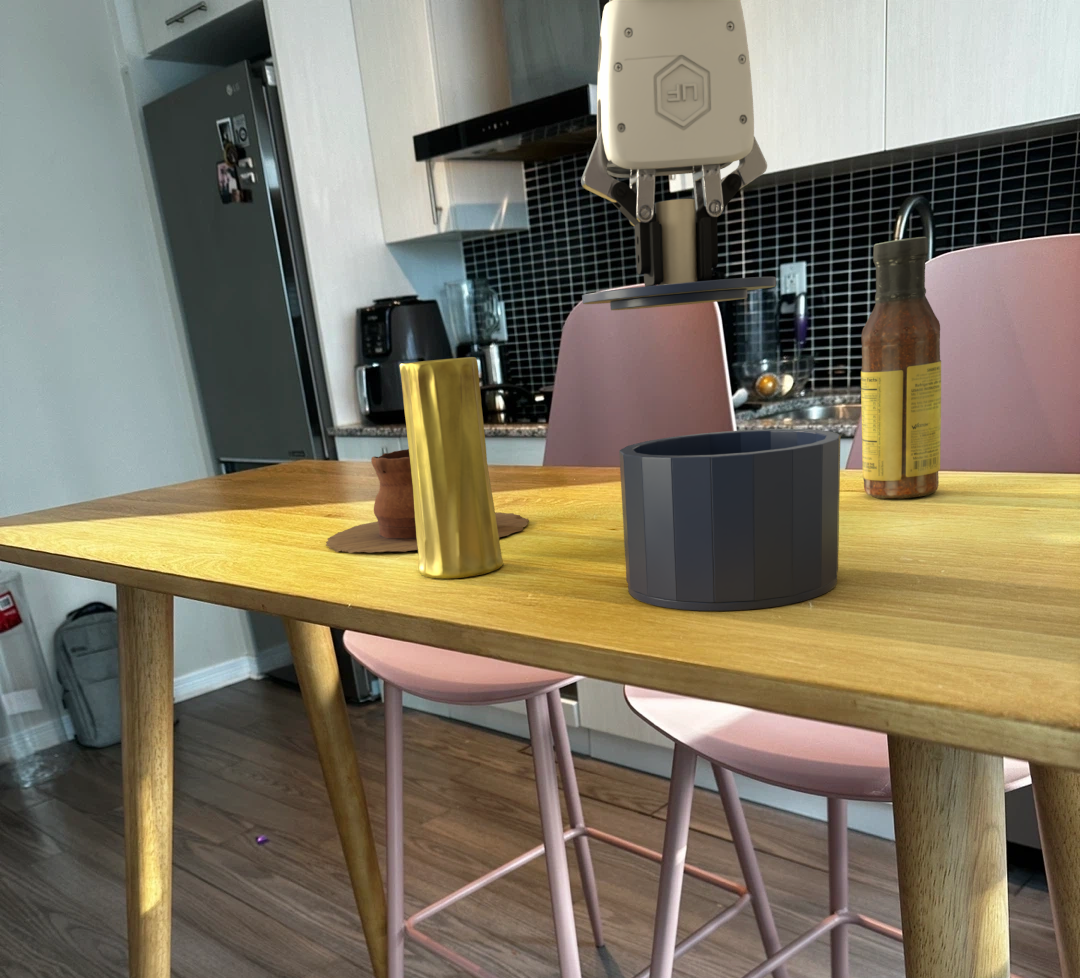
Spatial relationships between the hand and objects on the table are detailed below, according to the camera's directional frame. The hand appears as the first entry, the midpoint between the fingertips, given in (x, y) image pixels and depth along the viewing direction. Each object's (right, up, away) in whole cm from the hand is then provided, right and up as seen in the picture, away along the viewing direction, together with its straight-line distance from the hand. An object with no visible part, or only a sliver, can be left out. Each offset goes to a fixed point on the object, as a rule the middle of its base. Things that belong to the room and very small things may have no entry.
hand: (677, 280), depth 74 cm
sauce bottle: (+21, -13, +14) cm, 28 cm away
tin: (+2, -23, -11) cm, 26 cm away
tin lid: (0, -1, 0) cm, 1 cm away
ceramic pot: (-20, -15, +16) cm, 30 cm away
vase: (-16, -21, 0) cm, 26 cm away
